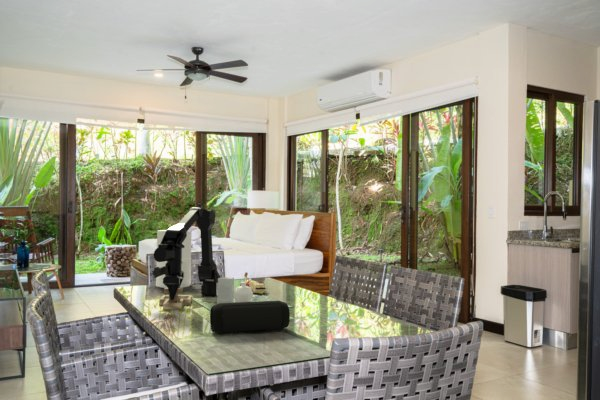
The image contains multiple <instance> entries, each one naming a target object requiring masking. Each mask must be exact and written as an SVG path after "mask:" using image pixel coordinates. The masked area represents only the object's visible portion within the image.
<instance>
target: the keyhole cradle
mask: <svg viewBox="0 0 600 400" xmlns="http://www.w3.org/2000/svg"><path fill="white" fill-rule="evenodd" d="M158 300H159V301H158V302H159V303H158V304H159V306H162V309H163V310H182V308H183V307H184V306H190V305H191V303H192V302H193V295H192V294H188V295H187V294H185V295H184V294H183V295H182V294H178V297H177V303H169V294H165V295H164V294H163V295H162V296H161V297H160V298H159V299H158Z"/></svg>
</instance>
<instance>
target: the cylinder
mask: <svg viewBox="0 0 600 400" xmlns="http://www.w3.org/2000/svg"><path fill="white" fill-rule="evenodd" d="M166 231H167V229H162V230H161V229H160V230H159V229H158V230H157V233H156V234H157V235H156V249H157V248H158V245H159V244H161V241H162V239H163V237H164V235H165V232H166ZM182 244H183V245H184V246H185V247H184V248H182V265H181V270H182V271H183V272H184V278H183V281H182V283H181V285H180V288H187V287H188V288H189V287H190V286H191V282H192V281H191V276H192V272H191V271H192V230H188V231H187V237H186V238H185V240H184V241H183V242H182ZM166 263H167V261H164V262H157V261H156V266H155V268H156V267H159V268H160V267H163V266H165V265H166ZM164 277H165V274H164V275H161V276H158V277H157V278H155V287H157V288H163V289H165V288H168V287H167V286H166V285H164V284H163V278H164ZM180 278H182V277H180Z"/></svg>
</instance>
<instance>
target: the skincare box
mask: <svg viewBox="0 0 600 400" xmlns="http://www.w3.org/2000/svg"><path fill="white" fill-rule="evenodd" d="M234 291H235V278H234V277H224V276H222V277H221V276H220V278H218V283H217V303H216V304H219V303H234V302H235V299H234V296H233V293H234Z"/></svg>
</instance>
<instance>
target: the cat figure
mask: <svg viewBox="0 0 600 400" xmlns="http://www.w3.org/2000/svg"><path fill="white" fill-rule="evenodd" d="M243 276H244V280H245V281H244V282H246V286H248V287H250V289H251V290H252V292H253V294H260V295H261V294H263V293H266V291H267V290H268V287H267V286H266V285H265V283H263V282H262V280H260V279H258V281H259V282H258V281H256V280H251V279H248V271H247V272H245V273H244V275H243ZM239 286H241V283H240V284H239Z"/></svg>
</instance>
